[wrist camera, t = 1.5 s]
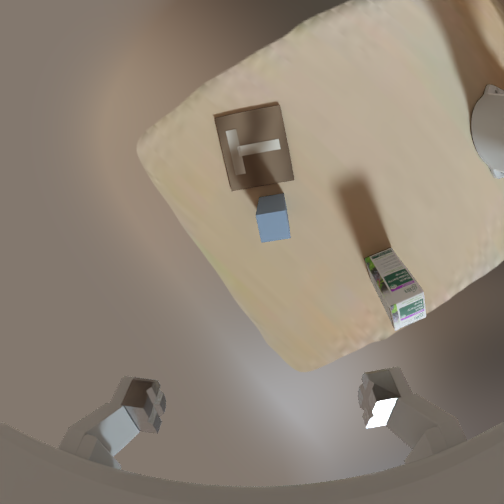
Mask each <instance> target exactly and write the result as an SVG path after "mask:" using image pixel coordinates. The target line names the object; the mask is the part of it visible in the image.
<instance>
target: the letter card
mask: <svg viewBox="0 0 504 504" xmlns="http://www.w3.org/2000/svg"><path fill="white" fill-rule="evenodd" d="M215 121H216V125H217V130H218V134H219V138H220V143H221V147H222V151H223V156H224V160H225V164H226V168H227V173H228V177H229V181H230V186H231V190H232V191H235V190H240V189H246V188H251V187H256V186H262V185H268V184H274V183H279V182H285V181H292V180H294V175H293V170H292V164H291V159H290V153H289V148H288V143H287V138H286V133H285V128H284V123H283V118H282V113H281V108H280V105H277V106H271V107H266V108H260V109H255V110H250V111H245V112H240V113H236V114H231V115H227V116H223V117H218V118H215Z"/></svg>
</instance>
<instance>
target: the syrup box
mask: <svg viewBox="0 0 504 504" xmlns="http://www.w3.org/2000/svg"><path fill="white" fill-rule="evenodd" d="M365 262H366V265H367V268H368V272H369V275H370V279H371V282H372V284H373V286H374V288H375V290H376V292H377V294H378V296H379V298H380V300H381V302H382V304H383V306H384V308H385V310H386V312H387V314H388V316H389V319H390V321H391V323H392V325H393V327H394V329H395V331H396V330H398V329H399V328H402V327H404V326H407V325H409V324H412V323H414V322H416V321H418V320H421V319H423V318H425V317H426V310H425V299H424V292H423V290H422V288H421V287H420V285H419V284H418V282H417V281H416V280H415V278H414V277H413V276H412V274H411V273H410V272H409V270H408V269H407V268H406V267H405V265H404V264H403V263H402V261H401V260H400V259H399V257H398V256H397V255H396V253H395V252H394V250H393V249H392V248H388V249H387V250H384V251H381V252H379V253H376V254H374V255H372V256H369V257H367V258H365Z"/></svg>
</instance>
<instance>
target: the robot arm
mask: <svg viewBox="0 0 504 504" xmlns="http://www.w3.org/2000/svg"><path fill="white" fill-rule="evenodd" d="M495 92H496V93H495ZM471 130H472V137H473V141H474V145H475V147H476V150H477V152H478V154H479V156H480V157H481V158H482V160H483V161H484V162H485V163H486V164H487V165H488V166H489V167H490V170H491V172H492V174H493V176H494V177H495V178H498V179H500V178H502V177H504V90H502V89H500V88H498V87H496V86H494V85H490V84H488V85H487V86H486V89H485V92H484V95H483V96H482V97H481V98H480V99H479V101H478V102H477V103H476V105H475V107H474V110H473V114H472V120H471ZM362 382H363V384H362V385H361V386H360V387H359V391H358V400H359V405H360V408H362V409H363V410H364V413H363V418H364V422H365V426H366V428H371V427H376V426H381V425H385V426H386V427H388V428H389V429H390V430H391V431H392V432H393V433H394V434H395V435H397V436H398V437H399V438H400V439H401V440H402V441H403V442H404V443H406V444H407V445H408V446H409V447H410V448H411V449H413V450H412V451H411V453H410V454H409V455H408V457H407V458H406V460H405V461H404V462H405V465H402V466H398V467H395V468H391V469H387V470H383V471H379V472H376V473H371V474H367V475H362V476H357V477H352V478H346V479H340V480H334V481H328V482H320V483H311V484H303V485H289V486H270V487H269V486H266V487H241V486H240V487H239V486H219V485H206V484H196V483H188V482H187V483H186V482H180V481H173V480H167V479H161V478H156V477H150V476H146V475H141V474H136V473H132V472H128V471H124V470H120V469H121V465H120V463H119V462H118V461H117V460H116V459H115V458H114V457H113V456H115V455H116V454H117V453H118V452H119V451H120V450H121V449H122V448H123V447H124V446H125V445H126V444H127V443H129V442H130V441H131V440H132V439H133V438H134V437H135V436H136V435H137V434H138V433H139V431H143V432H150V433H158V431H159V428H160V425H161V422H162V421H161V419H160V416H161V415H162V414H164V412H165V408H166V399H165V396H164V393H163V392H162V391H160V390H159V388H160V384H159V382H158V381H157V380H151V379H143V378H136V377H128V376H124V377H123V378H122V379H121V381H120V383H119V385H118V387H117V389H116V391H115V393H114V395H113V397H112V399H111V401H110V403H106V404H104V405H103V406H101V407H100V408H98V409H96V410H95V411H93V412H92V413H91V414H89V415H87V416H86V417H85V418H83V419H81V420H80V421H78V422H76V423H75V424H73V425H72V426H70V427H69V428H68V430H67V432H66V434H65V436H64V438H63V440H62V442H61V444H60V446H59V448H55V447H53V446H51V445H48V444H46V443H44V442H42V441H40V440H38V439H35V438H33V437H31V436H29V435H27V434H25V433H23V432H21V431H20V430H18V429H16V428H14V427H12V426H10V425H8V424H6V423H0V504H504V422H502V423H500V424H499V425H497V426H495V427H493V428H491V429H489V430H488V431H486V432H484V433H482V434H480V435H478V436H476V437H474V438H472V439H469V440H467V439H466V436H465V434H464V432H463V430H462V428H461V426H460V424H459V422H458V420H457V418H456V417H454V416H452V415H450V414H449V413H447V412H446V411H444V410H442V409H441V408H439V407H437V406H436V405H434V404H432V403H431V402H429V401H427V400H426V399H424V398H423V397H421V396H419V395H417V394H413V393H412V391H411V389H410V387H409V385H408V382H407V380H406V378H405V377H404V374H403V372H402V370H401V368H400V367H393V368H388V369H382V370H377V371H371V372H366V373H364V374H363V376H362Z"/></svg>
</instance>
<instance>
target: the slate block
mask: <svg viewBox="0 0 504 504" xmlns="http://www.w3.org/2000/svg"><path fill="white" fill-rule="evenodd" d="M256 219H257V223H258V228H259V233H260V237H261V242H269V241H275V240H281V239H288V238H291V237H290V229H289V221H288V214H287V209H286V203H285V197H284V193H282V194H276V195H270V196H265V197H259V201H258V206H257V211H256Z"/></svg>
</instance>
